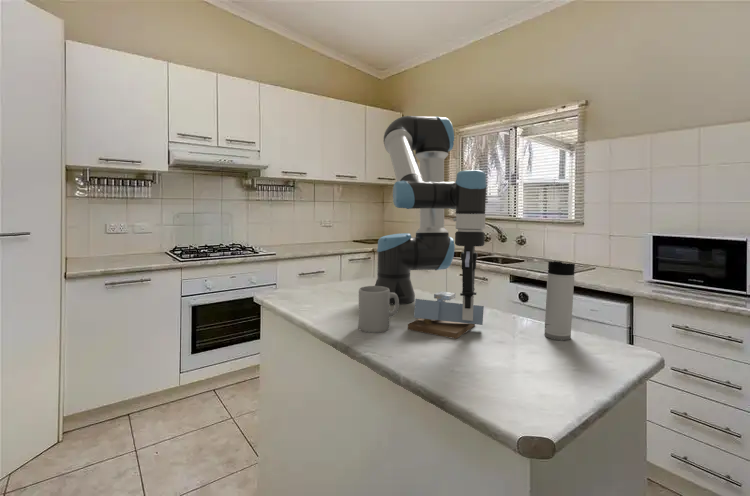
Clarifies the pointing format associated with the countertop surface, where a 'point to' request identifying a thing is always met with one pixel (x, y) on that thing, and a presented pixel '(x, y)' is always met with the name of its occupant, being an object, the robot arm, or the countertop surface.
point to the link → (446, 311)
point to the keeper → (444, 296)
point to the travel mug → (559, 300)
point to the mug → (375, 308)
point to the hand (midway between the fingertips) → (467, 319)
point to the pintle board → (440, 327)
